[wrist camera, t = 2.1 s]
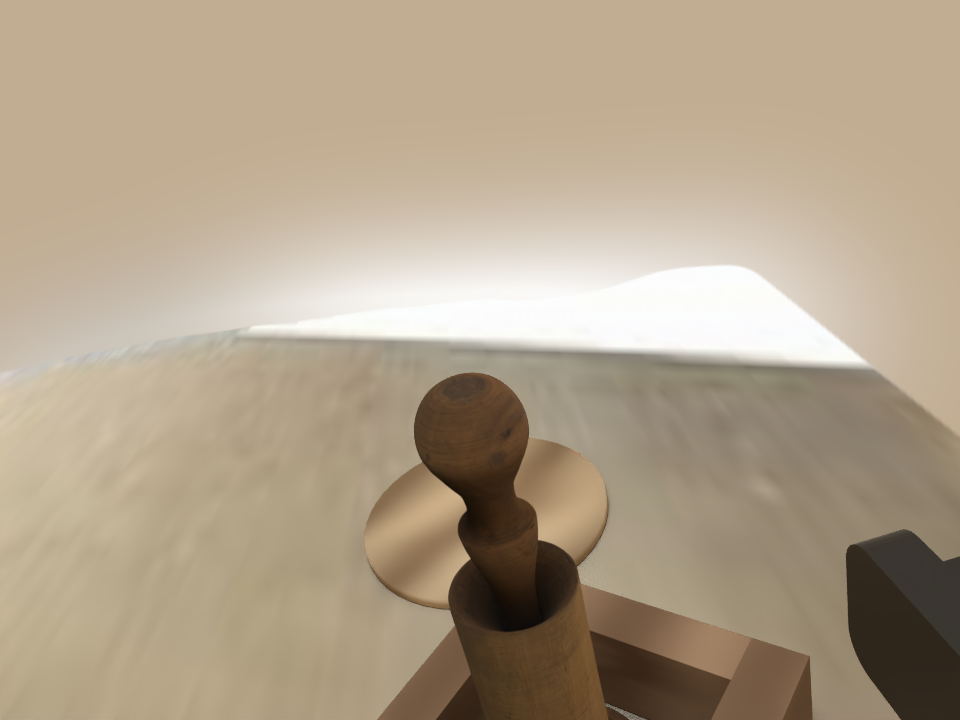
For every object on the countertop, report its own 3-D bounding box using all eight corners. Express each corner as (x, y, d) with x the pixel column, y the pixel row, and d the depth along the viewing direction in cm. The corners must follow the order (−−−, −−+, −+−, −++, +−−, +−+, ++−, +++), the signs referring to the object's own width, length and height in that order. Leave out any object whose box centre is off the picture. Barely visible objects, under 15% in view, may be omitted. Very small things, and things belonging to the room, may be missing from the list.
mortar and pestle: (657, 730, 33) (584, 309, 24) (680, 908, 27) (595, 441, 19) (486, 743, 34) (360, 345, 25) (474, 917, 28) (306, 480, 20)
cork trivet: (317, 566, 45) (314, 557, 45) (460, 430, 54) (458, 421, 54) (522, 644, 38) (520, 634, 38) (650, 471, 46) (649, 462, 46)
